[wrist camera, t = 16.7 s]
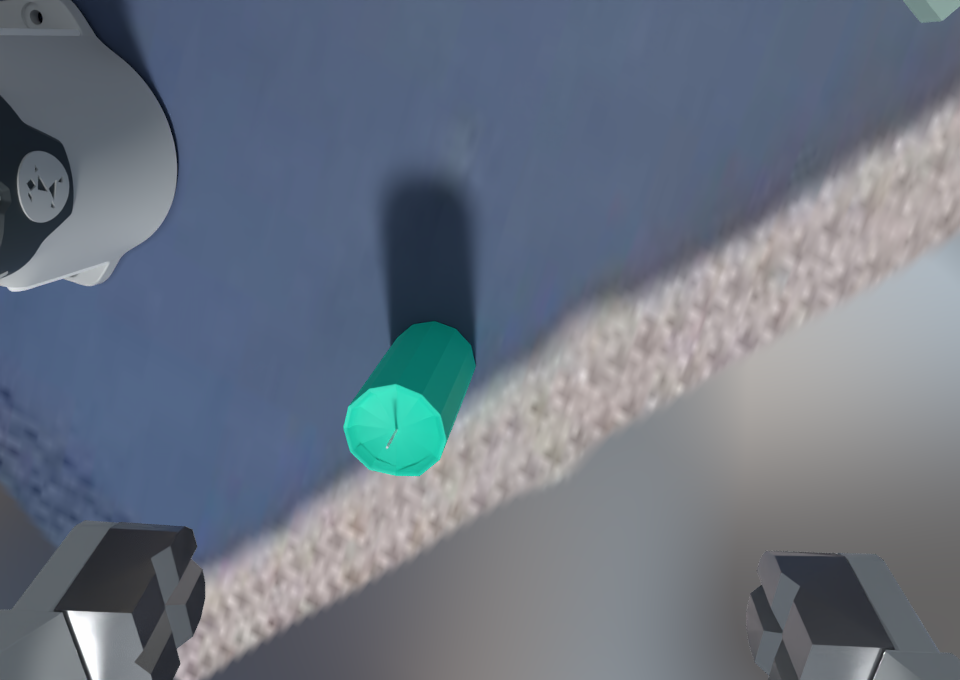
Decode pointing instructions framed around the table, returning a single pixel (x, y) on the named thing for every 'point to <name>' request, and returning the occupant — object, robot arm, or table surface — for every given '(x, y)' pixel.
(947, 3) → the loose leg
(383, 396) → the candle
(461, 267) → the table surface
